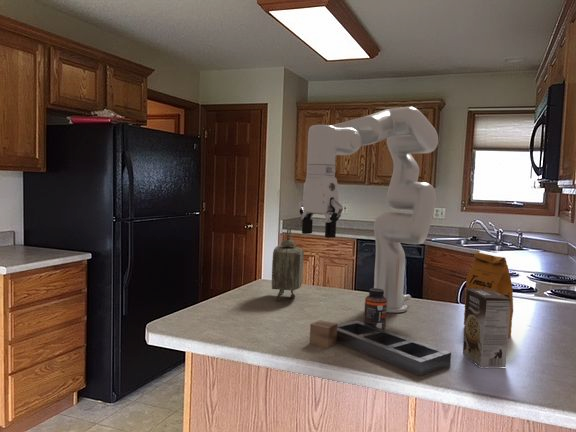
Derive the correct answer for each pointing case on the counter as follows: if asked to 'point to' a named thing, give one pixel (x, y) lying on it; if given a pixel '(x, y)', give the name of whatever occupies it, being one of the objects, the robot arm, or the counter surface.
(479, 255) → the coffee package
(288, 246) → the tabletop clock
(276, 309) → the counter surface
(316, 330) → the walnut block
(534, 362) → the counter surface
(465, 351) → the coffee box
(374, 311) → the supplement bottle
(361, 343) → the rail
